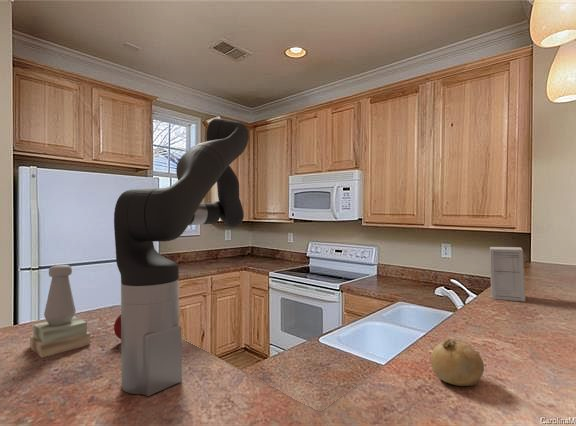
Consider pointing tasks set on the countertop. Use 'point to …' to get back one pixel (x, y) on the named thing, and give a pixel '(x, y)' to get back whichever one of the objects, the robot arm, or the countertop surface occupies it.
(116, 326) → the onion
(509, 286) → the supplement box
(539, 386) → the countertop surface
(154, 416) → the countertop surface
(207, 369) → the countertop surface
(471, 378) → the onion
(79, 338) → the brick base
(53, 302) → the salt shaker
